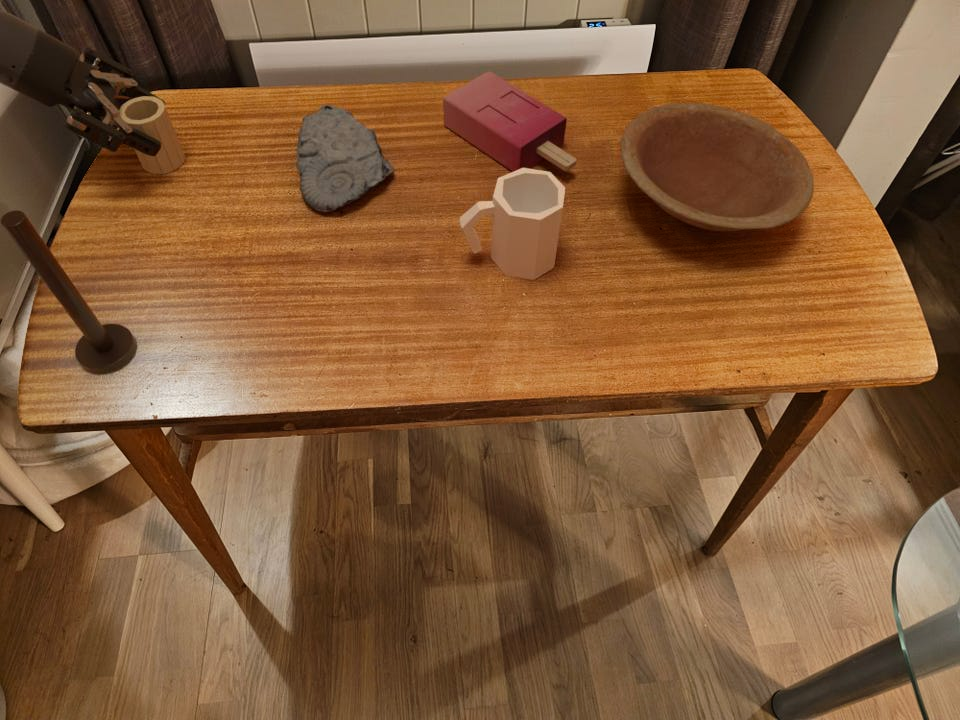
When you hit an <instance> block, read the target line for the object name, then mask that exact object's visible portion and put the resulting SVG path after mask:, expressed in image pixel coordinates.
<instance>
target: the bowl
mask: <svg viewBox="0 0 960 720" xmlns="http://www.w3.org/2000/svg"><path fill="white" fill-rule="evenodd" d="M619 150H620V157H621V160H622V163H623V166H624V168H625V170H626V172H627V174H628V176H629V178H631V179H632V181H633V182H634V184H635V185H637V187H638V188H639V189H640V190H641V191H642V192H643V193H644V194H646V195H647V196H648V197H649V198H650V199H652V201H653V202H654V203H655V204H656V205H657V206H658V207H659V208H660V209H661V210H662V211H664V212H665V213H666V214H668V215H670V216H672V217H673V218H675V219H678V220H680V221H681V222H683V223H685V224H688V225H690V226H694V227H696V228H700V229H703V230H707V231H713V232H735V231H736V232H737V231H741V230H771V229H774V228H777V227H781V226H782V225H785V224H787V223H789V222H792V221H793V220H794V219H796V218H797V217H798V216H800V215H802V213H804V211H805V210H806V209H807V208H808V206H809V205H810V204H811V202H812V198H813V196H814V191H815V186H814V184H815V183H814V173H813V172H812V170H811V167H810V166H809V163H808V159H806V157H805V155H804V154H803V153H802V152H801V150H800V149H799V148H798V147H797V146H796V145H795V144H794V143H793V142H792V141H791V140H790V139H789V138H788V137H787V136H785V134H783V133H781V132H780V131H779V130H777V129H776V128H775V127H774V126H773V125H772V124H770V123H768V122H767V121H765V120H761V119H759V118H757V117H756V116H753V115H750V114H747V113H743V112H740V111H737V110H734V109H731V108H729V107H723V106H719V105H714V104H708V103H700V102H675V103H669V104H667V103H666V104H663V105H660V106H653V107H649V109H647V110H645V111H643V112H641V113H640V114H638V115H637V116H636V117H634V118H632V120H631V121H630V122H629V123H628V124H627V126H626V127H625V129H624V131H623V132H622V135H621V139H620V149H619Z"/></svg>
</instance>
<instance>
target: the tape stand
mask: <svg viewBox="0 0 960 720" xmlns="http://www.w3.org/2000/svg"><path fill="white" fill-rule="evenodd" d="M0 225H1V226H2V227H3V228H4V230H5V231H6V233H7V234H8V235H9V237H10V239H12V241H13V242H14V243H15V245H16V246H17V248H18V249H19V250H20V251H21V253H22V254H23V255H24V257H25V258H26V260H27V261H28V262H29V264H30V266H31V267H32V268H33V269H34V271H35V272H36V273H37V275H38V276H39V277H40V278H41V280H42V282H43V283H44V284H45V285H46V286H47V288H48V289H49V291H50V292H51V294H52V295H53V296H54V297H55V299H56V300H57V301H58V302H59V304H60V305H61V307H62V308H63V309H64V310H65V312H66V313H67V315H68V316H69V318H70V319H71V320H72V322H73V323H74V324H75V326H76V327H77V328H78V329H79V331H80V332H81V334H82V336H81V337H80V338H79V339H78V341H77V343H76V346H75V349H74V356H75V360H77V362H78V363H79V365H80V366H81V367H82V368H83V369H84V370H85V371H86V372H89V373H91V374H94V375H106V374H111V373H114V372H117V371H118V370H121V369H122V368H124V367H125V366H126V365H128V364H129V363H130V362H131V360H132V359H133V358H134V357H135V354H136V352H137V347H138V345H137V344H138V343H137V340H136V337H134V335H133V333H132V332H131V330H130V329H129V328H128V327H126V326H125V325H122V324H119V323H105V324H102V323H101V321H100V320H99V318H98V317H97V315H96V314H95V313H94V311H93V310H92V309H91V307H90V306H89V303H87V301H86V300H85V298H84V297H83V295H82V294H81V293H80V291H79V290H78V288H77V287H76V285H75V284H74V283H73V281H72V279H71V278H70V277H69V276H68V274H67V272H66V271H65V269H64V268H63V267H62V265H61V264H60V262H59V261H58V260H57V258H56V257H55V255H54V254H53V253H52V251H51V250H50V248H49V247H48V245H47V243H45V241H44V239H43V238H42V236H41V235H40V234H39V232H38V230H37V229H36V228H35V226H34V225H33V224H32V222H31V221H30V220H29V218H28V217H27V215H26V213H24V211H21V210H18V209H17V210H15V209H14V210H11V211H8V212H6V213H4V214H3V215H2V217H0Z"/></svg>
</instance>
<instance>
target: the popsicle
mask: <svg viewBox="0 0 960 720" xmlns="http://www.w3.org/2000/svg"><path fill="white" fill-rule="evenodd" d="M442 104H443V105H442V108H443V109H442V110H443V125H444V126H445V127H446V128H447V129H449V130H451V131H452V132H453V133H455V134H456V135H458V136H459V137H461V138H462V139H464V140H465V141H467V142H468V143H470V144H471V145H473V146H474V147H476V148H477V149H479V151H482V152H483V153H484V154H486V155H487V156H489V157H491V158H492V159H493V160H495V161H496V162H497V163H499V164H500V165H502V166H504V167H505V168H507V169H508V170H509V171H511V172H514V171H516V170H519V169H521V168H529V169H532V168H533V167H534V166H536V165H537V164H538V163H540V162H542V161H543V160H544V159H545V160H547V161H548V162H550V163H551V164H553V165H554V166H556V167H557V168H559V169H561V170H562V171H564V172H568V171H570V170H571V169H573V168H574V167H576V165H577V158H576V157H574V156H573V155H572V154H570V153H568V152H566V151H565V150H563V149H562V147H563V146H564V143H565V137H566V129H567V120H568V118H567V117H566V116H564V115H562V114H561V113H559V112H558V111H556V110H555V109H553V108H552V107H549V106H548V105H546V104H544V103H543V102H541V101H539V100H538V99H537V98H535V97H532V95H530V94H528V93H526V92H525V91H523V90H521V89H520V88H518V87H516V86H515V85H514V84H512V83H510V82H508V81H507V80H505V79H504V78H502V77H500V76H499V75H497V74H495V73H494V72H492V71H489V70H487V71H486V72H484V73H483V74H480V75H479V76H477V77H475V78H474V79H472V80H470V81H468V82H466V83H464V84H463V85H461V86H460V87H459V88H457V89H455V90H453V91H451V92H449V93H447V94H446V95H444V96H443V97H442Z"/></svg>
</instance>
